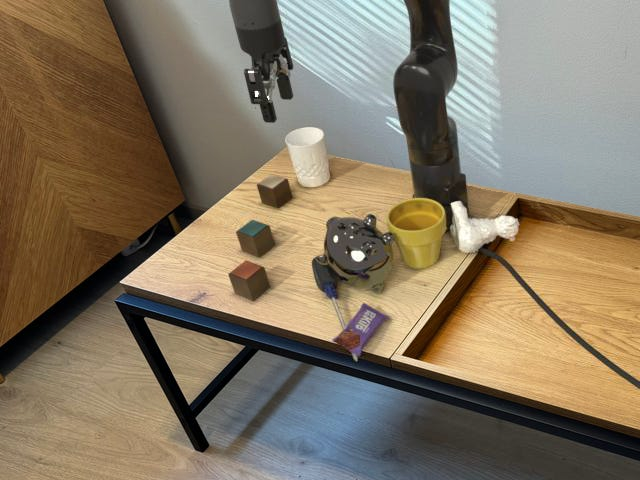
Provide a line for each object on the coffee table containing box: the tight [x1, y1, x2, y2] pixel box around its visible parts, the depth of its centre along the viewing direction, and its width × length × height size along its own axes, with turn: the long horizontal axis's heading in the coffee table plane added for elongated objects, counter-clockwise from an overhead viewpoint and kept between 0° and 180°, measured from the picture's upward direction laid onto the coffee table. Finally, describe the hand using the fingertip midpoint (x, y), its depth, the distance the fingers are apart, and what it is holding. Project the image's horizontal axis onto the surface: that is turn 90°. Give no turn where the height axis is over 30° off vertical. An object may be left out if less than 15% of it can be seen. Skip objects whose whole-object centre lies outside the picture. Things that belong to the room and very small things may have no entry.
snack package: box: [332, 302, 390, 357], centre depth 131 cm, size 12×2×5 cm
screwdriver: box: [311, 256, 358, 362], centre depth 136 cm, size 26×4×4 cm
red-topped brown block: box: [228, 259, 271, 302], centre depth 142 cm, size 4×4×5 cm
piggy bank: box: [315, 213, 396, 295], centre depth 139 cm, size 11×15×12 cm
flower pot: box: [386, 197, 447, 269], centre depth 144 cm, size 10×10×10 cm
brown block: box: [256, 173, 294, 210], centre depth 163 cm, size 4×4×5 cm
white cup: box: [284, 126, 331, 188], centre depth 166 cm, size 8×8×10 cm
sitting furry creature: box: [449, 201, 520, 254], centre depth 147 cm, size 10×9×12 cm
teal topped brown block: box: [235, 219, 276, 258], centre depth 151 cm, size 4×4×5 cm
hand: (279, 109), depth 142 cm, fingers open, 8 cm apart
